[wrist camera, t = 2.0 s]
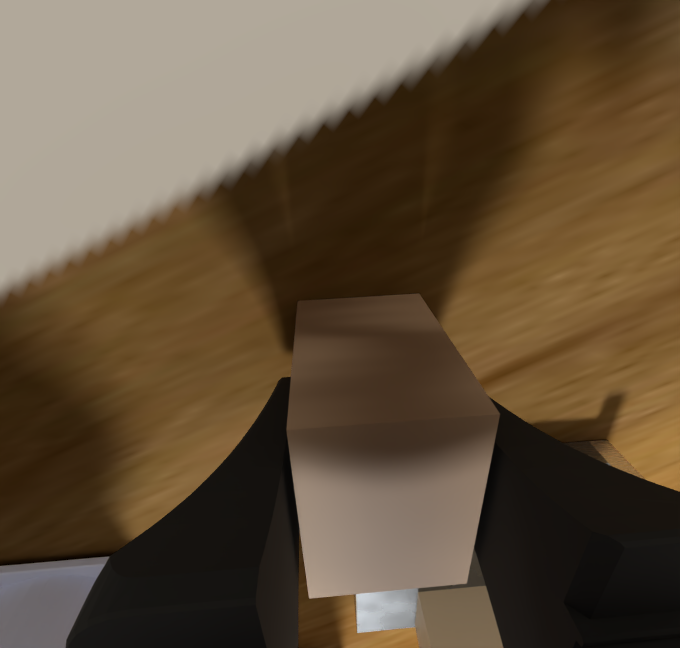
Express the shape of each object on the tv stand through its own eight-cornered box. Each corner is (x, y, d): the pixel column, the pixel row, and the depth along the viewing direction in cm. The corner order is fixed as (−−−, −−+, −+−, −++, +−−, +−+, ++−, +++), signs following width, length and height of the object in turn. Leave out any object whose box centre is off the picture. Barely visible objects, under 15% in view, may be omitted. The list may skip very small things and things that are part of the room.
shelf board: (355, 606, 21) (359, 661, 18) (349, 460, 16) (355, 512, 13) (551, 587, 21) (578, 639, 19) (607, 439, 16) (652, 486, 14)
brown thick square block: (310, 433, 15) (309, 602, 9) (297, 300, 12) (285, 430, 7) (411, 426, 15) (465, 587, 10) (419, 293, 12) (500, 414, 7)
